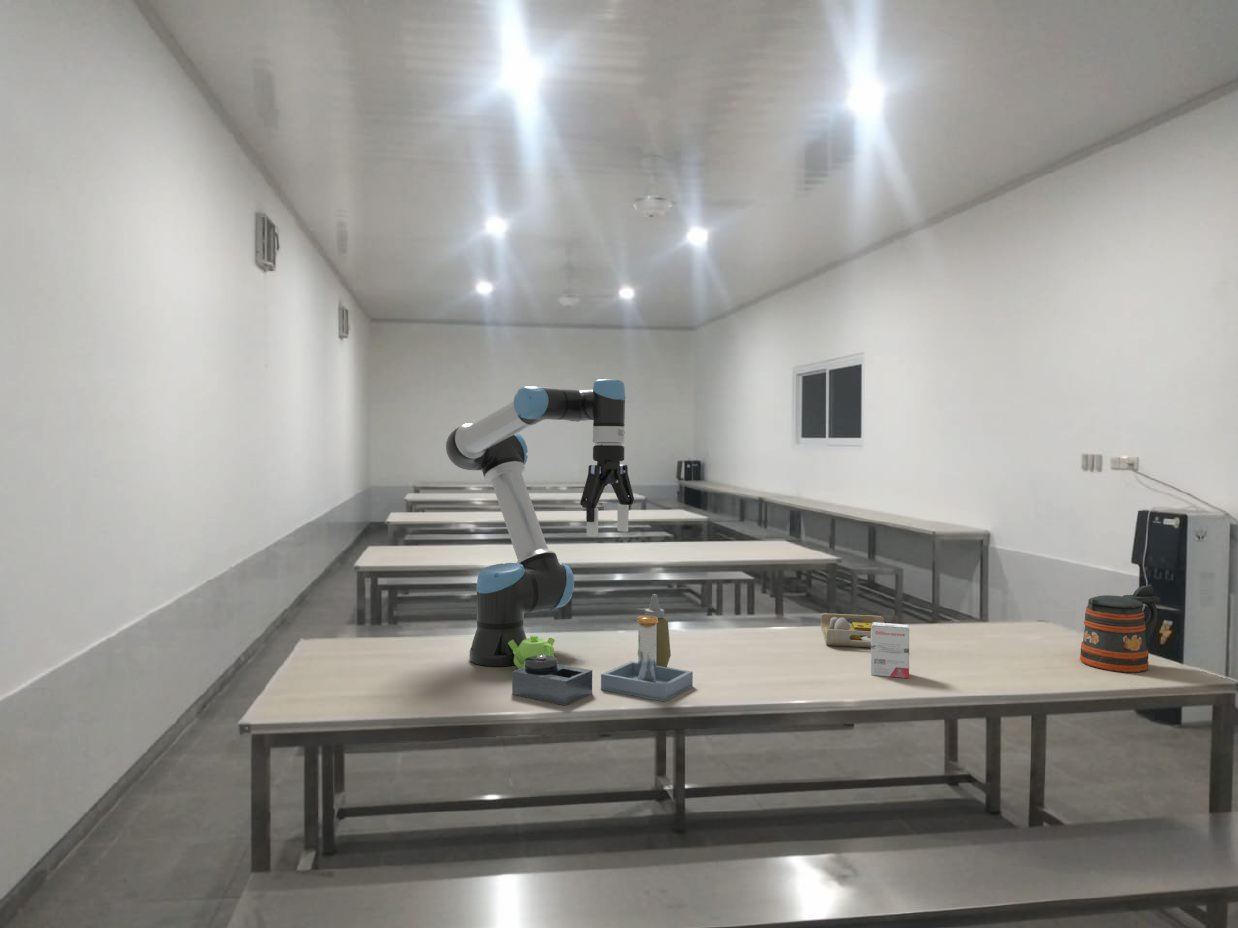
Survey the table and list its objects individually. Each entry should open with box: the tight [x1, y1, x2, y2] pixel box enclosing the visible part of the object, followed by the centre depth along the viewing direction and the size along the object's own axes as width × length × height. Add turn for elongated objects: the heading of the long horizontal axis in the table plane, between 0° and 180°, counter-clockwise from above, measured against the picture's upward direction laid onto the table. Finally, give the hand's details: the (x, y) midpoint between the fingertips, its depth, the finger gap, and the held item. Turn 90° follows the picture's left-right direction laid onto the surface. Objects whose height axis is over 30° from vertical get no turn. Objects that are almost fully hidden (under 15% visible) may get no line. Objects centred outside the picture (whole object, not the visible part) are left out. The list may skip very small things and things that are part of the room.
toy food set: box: [820, 612, 885, 649], centre depth 225 cm, size 25×18×8 cm
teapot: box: [508, 634, 556, 669], centre depth 189 cm, size 11×12×8 cm
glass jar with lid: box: [636, 615, 658, 683], centre depth 176 cm, size 5×5×15 cm
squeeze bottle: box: [644, 593, 672, 667], centre depth 192 cm, size 8×8×18 cm
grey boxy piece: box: [511, 655, 593, 706], centre depth 172 cm, size 14×10×8 cm
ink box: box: [870, 622, 910, 679], centre depth 189 cm, size 9×5×12 cm, turn 71°
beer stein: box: [1079, 584, 1161, 674], centre depth 199 cm, size 19×15×20 cm
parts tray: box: [600, 660, 694, 702], centre depth 177 cm, size 16×13×3 cm
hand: (608, 533), depth 190 cm, fingers open, 13 cm apart
